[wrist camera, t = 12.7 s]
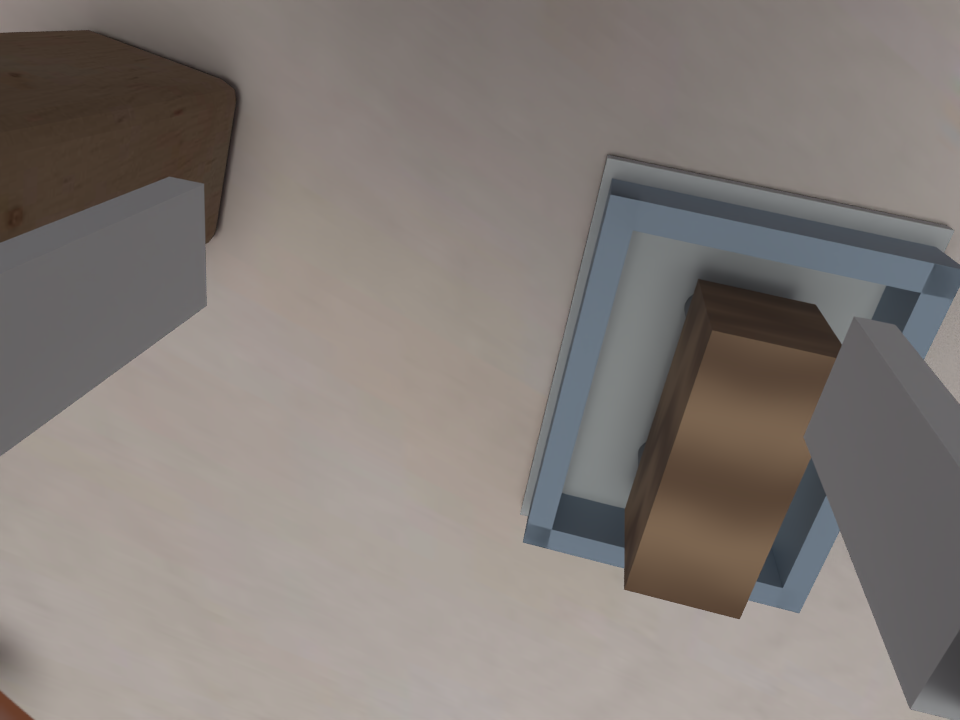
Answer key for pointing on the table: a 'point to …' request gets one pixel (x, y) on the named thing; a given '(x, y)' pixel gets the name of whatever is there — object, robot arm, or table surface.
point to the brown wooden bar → (725, 446)
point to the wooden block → (102, 126)
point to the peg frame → (658, 325)
